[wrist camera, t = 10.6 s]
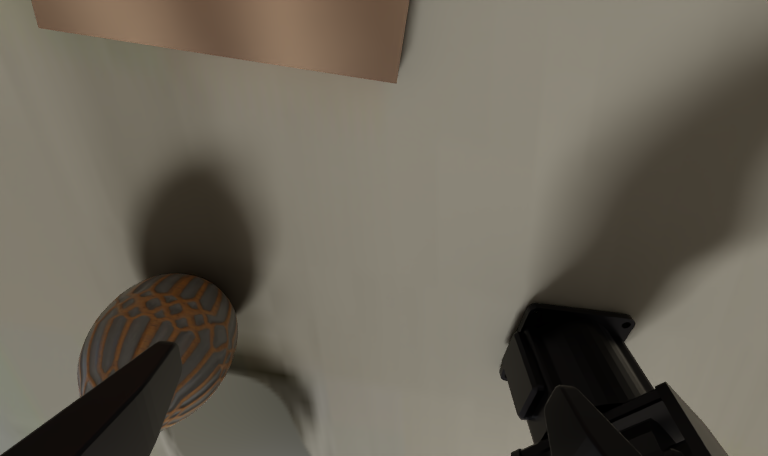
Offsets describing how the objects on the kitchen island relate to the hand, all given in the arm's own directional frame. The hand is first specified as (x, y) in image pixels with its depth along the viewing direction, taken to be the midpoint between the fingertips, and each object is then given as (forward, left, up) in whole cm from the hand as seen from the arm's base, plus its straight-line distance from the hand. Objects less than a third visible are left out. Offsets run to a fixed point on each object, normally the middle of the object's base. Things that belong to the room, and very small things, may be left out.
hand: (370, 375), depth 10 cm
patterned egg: (+10, +10, -12) cm, 19 cm away
